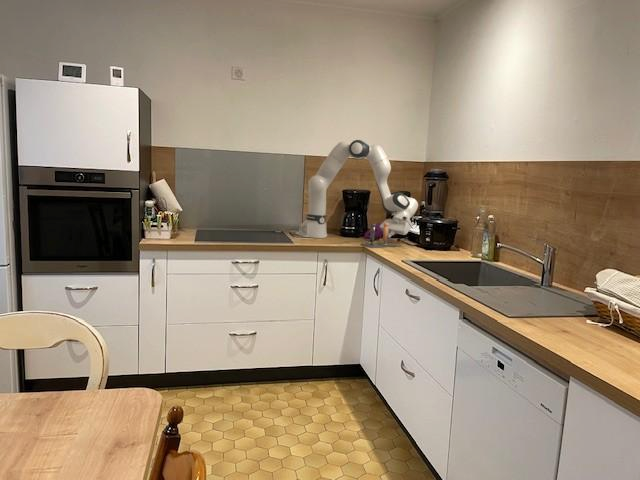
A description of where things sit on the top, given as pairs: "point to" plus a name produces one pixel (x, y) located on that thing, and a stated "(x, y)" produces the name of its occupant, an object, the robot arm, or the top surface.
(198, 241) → the top surface
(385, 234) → the sliding leg
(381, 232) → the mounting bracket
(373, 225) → the fixed leg
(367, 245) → the hole plate
